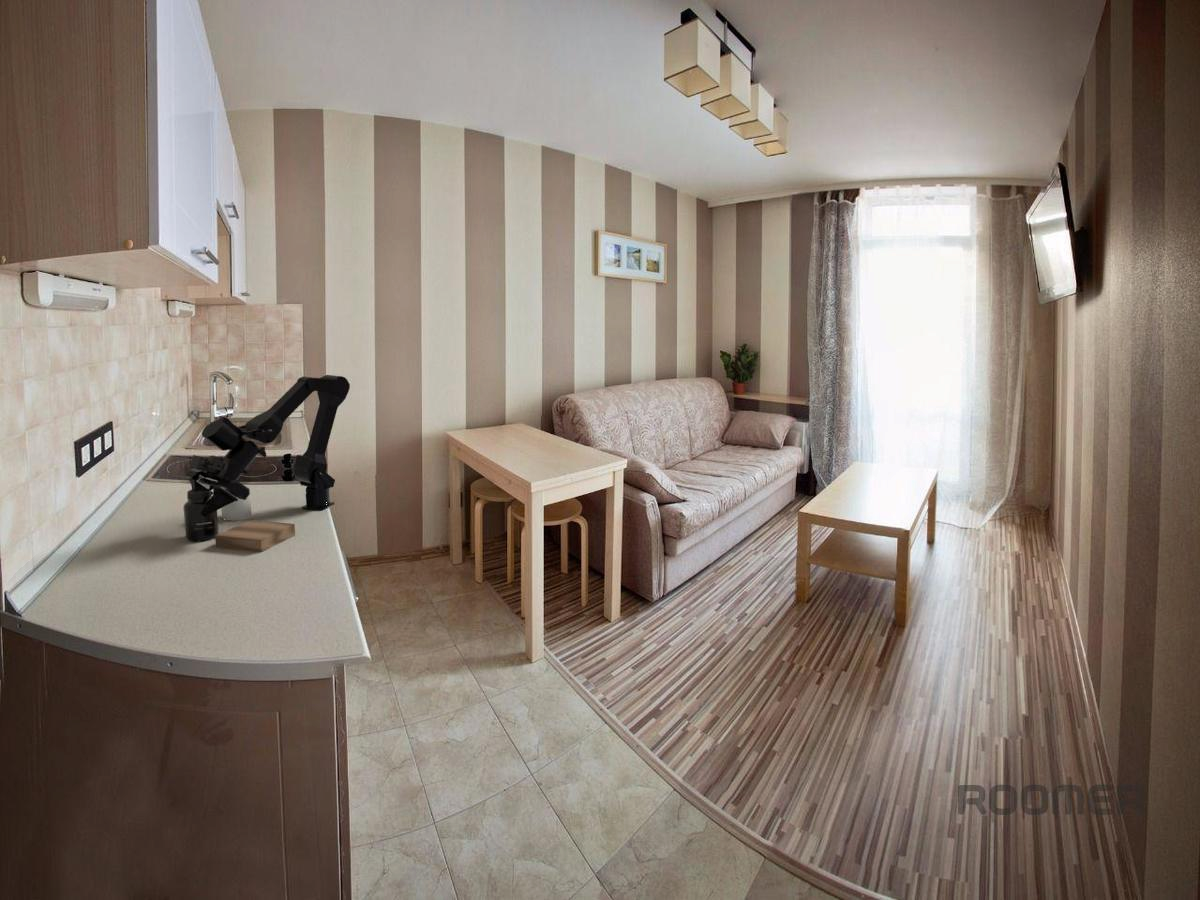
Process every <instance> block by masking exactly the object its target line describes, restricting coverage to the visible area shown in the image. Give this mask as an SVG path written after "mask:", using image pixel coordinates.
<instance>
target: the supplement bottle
mask: <svg viewBox="0 0 1200 900" xmlns="http://www.w3.org/2000/svg"><path fill="white" fill-rule="evenodd" d="M211 491H212V490H210V489H206V488H200V489H193V490H192V489H189V490H188V491H187V492H186V493H187V494H186V495H187V496H186V497H187V501H188V500H189V501H188V502H187V501H186V502H185V503H184V505H183V519H184V531H185V532H184V533H185V538H186V540H187V541H190V542H205V541H210V540H213V539H215V535H217V534H219V533H220V532H219V531H220V530H219V522H218V521H219V520H218V519H219V518H218V510H217V511H215V512H213V513H211V514H209V515H207V516H206V517H204V516H202V515H201V513H202V511H203V509H204V508H205V506H206V505H207V503H208V502H209V500H210V499H211V497H212V496H213V495H211Z"/></svg>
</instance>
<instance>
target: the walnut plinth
mask: <svg viewBox="0 0 1200 900" xmlns="http://www.w3.org/2000/svg"><path fill="white" fill-rule="evenodd" d="M294 535H295V536H296V527H295V523H290V522H289V523H288V522H286V523H285V522H277V521H270V520H269V521H267V520H257V519H256V520H255V519H251V520H248V521H246V522H243V523H241V524H239V525H236V526H233V527H231V528H229V529H227V530H224V531H222V532H219V534H217V535H215V538H214V540H215V548H220V549H228V550H237V551H240V550H241V551H249V552H257V553H258V552H259V553H262V552H264V551H266V550H268V549H270V548H273V547H274V546H277V545H279V544H280V543H282V542H285V541H287V540H288V539H291V538H292V537H294Z"/></svg>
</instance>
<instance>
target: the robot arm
mask: <svg viewBox="0 0 1200 900" xmlns="http://www.w3.org/2000/svg"><path fill="white" fill-rule="evenodd" d="M350 388H351V383H349V380H348V379H347V378H346V377H344V376H342V375H341V376H340V375H334V374H333V375H332V374H325V375H323V376H321V377H313V376H312V377H311V376H301V377H299V378H298V379H297V381H296V382H295V383H294V384H293V385H292V386H291V387H290V388H289V389H288V390H287V391H286V392H285V393H284V394H283V395H281V397H280V398H279V399H278V400H277V401H276V402H275V403H274V404H273V405H272V406H271V407H270V408H269V409H267V410H266V411H264V412H262V413H259V414H258V415H256V416H254V417H253V418H251V419H250V420H248V421H247V422H246V423H245V424H243V425H240V426H236V424H234V423H233V422H232V421H231V420H230V419H229V418H228V417H226V416H220V417H219V418H218V419H216V420H214V421H212V422H210V423H209V424H207V425H206V426H205V427H204V429H202V432H201V436H202V437H203V438H205V439H206V440H207V441H208V442H209V443H211V444H212V445H214V446H215V447H216V448H217V449H218V450H219V449H220V451H227V450H228V451H227V453H226V454H225V455H224V456H215V455H210V456H209V457H208V458H207V457H203V456H198V455H195V454H193V455H192V458H191V460H190V463H189V465H188V468H190V470H189V471H188V472H187V473H186V474H185V478H187V479H188V481H189V483H190V486H191V490H193V489H200V488H206V489H210V490H211V496H212V497H211V498H210V500H209V502H208V503H207V505H206V506H205V508H204V509H203V511H202V513H201V515H202V516H204V517H206V516H207V515H209V514H211V513H213V512H215V511H217V512H218V510H221V508H222V507H224V506H226V505H228V504H230V503H232V502H235V501H238V499H237V498H239V499H242V500H246V499H247V497H248V496H249V495H250V496H251V489H249V488H247V487H246V486H247V485H244V484H243V483H242V482H240V481H239V480H238V479H239V478H240V477H241V476H242V475H243V476H247V474H248V472H249V471H248V470H246V469H247V468H248V467H249V466H250V464H251V463H252V462H253V461H254V459H255V458H256V457H257V456H258V457H261V458H266V457H267V452H266V447H265V446H263V445H257V444H256V443H261V444H262V443H263V444H271V443H272V442H274V441H275V440H276V439H277V438H278V436H279V435H280V433H281V432H282V430H283V426H284V423H285V421H287V419H288V418H289V417H290V416H291V415H292V414H293V413H294V412H295V411H296V410H297V409H298V408H299V407H300V406H301V405H302V404H303V403H304V401H306V400H307V399H308V398H309V397H310V396H311V394H312V393H313V392H316V393H317V397H318V400H319V401H318V402H319V405H318V409H317V412H316V416H315V420H314V424H313V427H312V430H311V434H310V438H309V440H308V445H307V448H306V450H305V452H304V453H303V454H302V455H300V454H297V455H296V458H295V464H294V465H293V467H292V469H293V470H294V471H293V476H294V477H295V478H296V480H297V481H299V484H300V486H302V487H306V488H305V505H303V506H301V508H302V509H305V510H315V509H317V510H318V511H323V510H326V509H328V508H329V507H331V506H334V505H335V502H334V501H333V502H331V501H330V488H334V485H335V483H336V482H335V481H336V479H335V478H334V477H332V476H331V474H328V473H327V470H328V462H327V458H326V452H327V449H328V445H329V440H330V438H331V435H332V434H331V433H332V431H333V427H334V426H333V425H334V423H335V419H336V414H337V411H338V408H339V407H340V406H341V405H342V403H344V401H345V400H346V398H347V396H348V394H349V391H350ZM244 438H246V439H248V440H246V439H244ZM255 442H256V443H255ZM188 501H189V500H188V499H187V501H186V502H188ZM326 502H327V503H326ZM326 504H327V505H326ZM327 506H328V507H327ZM317 510H316V511H317Z"/></svg>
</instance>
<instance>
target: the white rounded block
mask: <svg viewBox="0 0 1200 900" xmlns="http://www.w3.org/2000/svg"><path fill="white" fill-rule="evenodd" d="M245 486H246V487H247V488H249V489H250V488H251V487H250V486H249V485H245ZM250 490H251V489H250ZM237 499H238V501H235V502H232V503H230V504H228V505H226V506H224V507H222V508H220V510H221V512H220V513H221V519H222V518H223V519H225V520H224V521H226V520H237V521H243V520H247V519H249V518H251V517H252V514H253V513H252V502H251V494H250V495H249V496H248V497H247V499H246V500H242V499H239V498H237ZM246 518H247V519H246ZM223 519H222V520H223ZM242 519H243V520H242Z"/></svg>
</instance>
